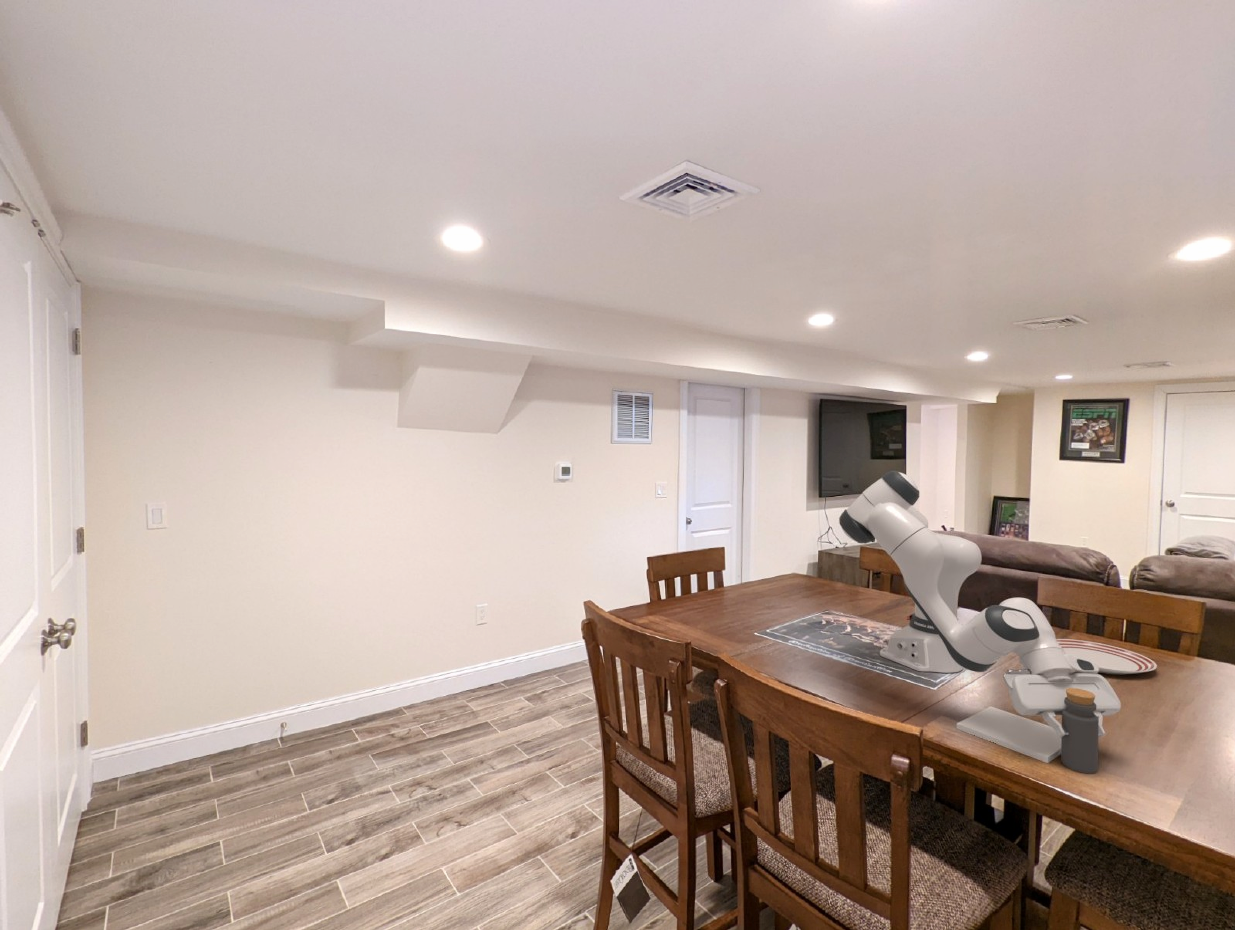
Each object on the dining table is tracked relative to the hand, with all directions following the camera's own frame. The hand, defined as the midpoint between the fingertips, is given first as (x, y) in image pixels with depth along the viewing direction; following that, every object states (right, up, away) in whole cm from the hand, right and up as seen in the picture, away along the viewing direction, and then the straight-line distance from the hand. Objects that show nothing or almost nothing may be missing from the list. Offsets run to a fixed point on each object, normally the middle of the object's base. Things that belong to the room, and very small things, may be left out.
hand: (1082, 736), depth 119 cm
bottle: (0, -7, +1) cm, 7 cm away
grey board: (-4, -6, +14) cm, 16 cm away
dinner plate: (+49, -5, +57) cm, 75 cm away
